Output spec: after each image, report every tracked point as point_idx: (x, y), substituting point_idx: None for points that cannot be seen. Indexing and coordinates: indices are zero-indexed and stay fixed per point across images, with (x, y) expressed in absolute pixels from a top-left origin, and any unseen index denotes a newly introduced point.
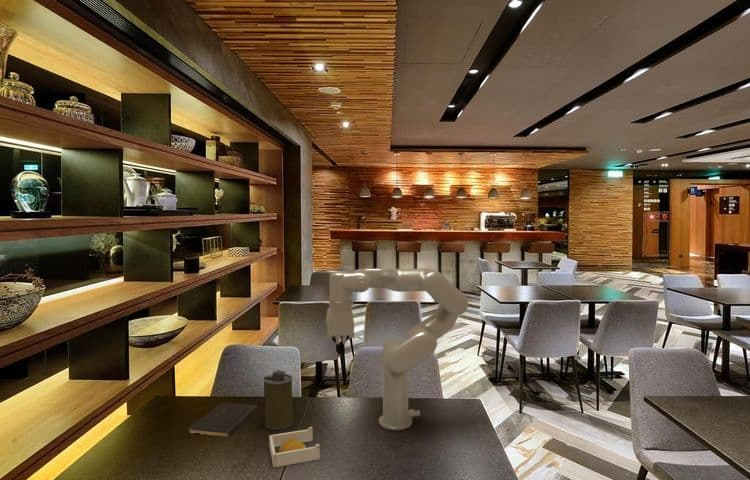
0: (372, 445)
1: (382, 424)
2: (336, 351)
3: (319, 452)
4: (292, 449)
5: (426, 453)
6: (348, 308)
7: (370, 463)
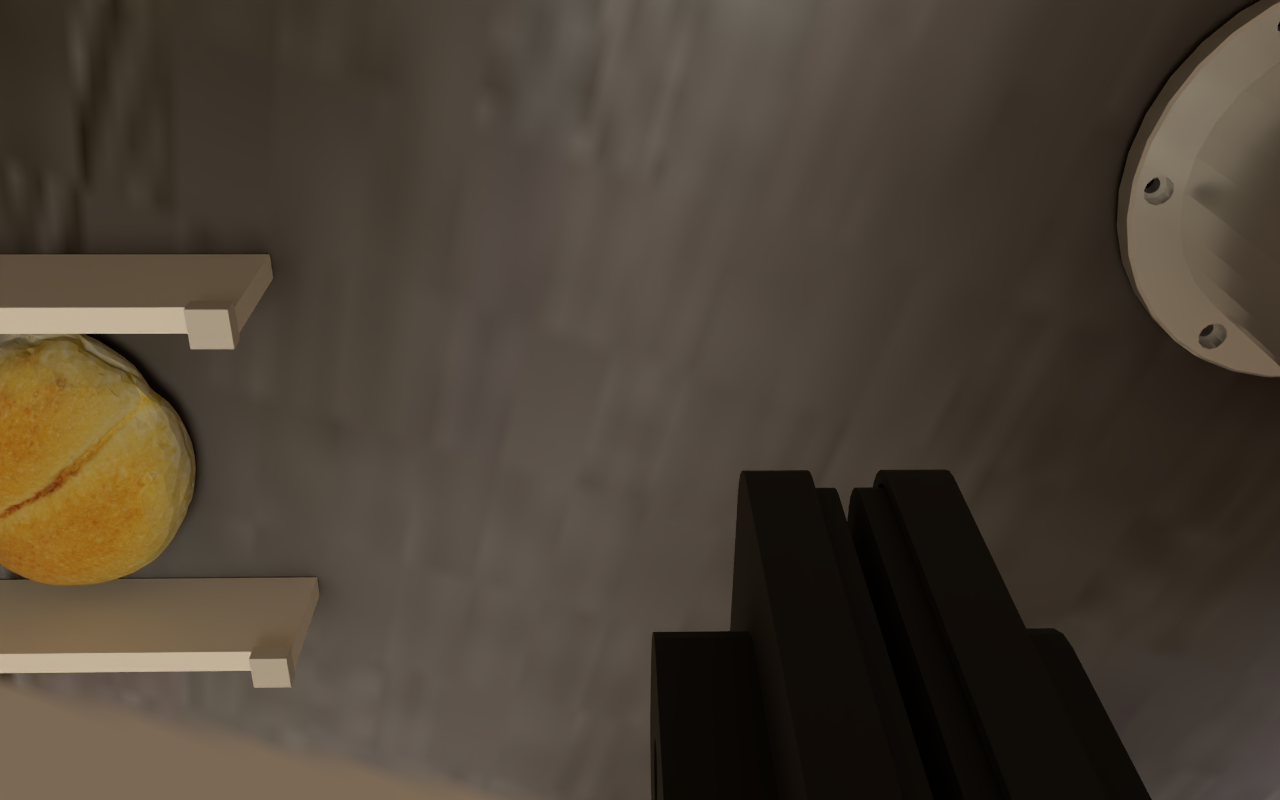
0: None
1: (1130, 252)
2: (650, 726)
3: (304, 636)
4: (33, 573)
5: (1200, 747)
6: None
7: None
